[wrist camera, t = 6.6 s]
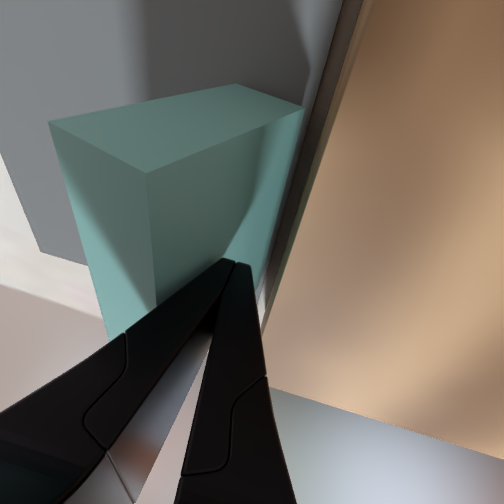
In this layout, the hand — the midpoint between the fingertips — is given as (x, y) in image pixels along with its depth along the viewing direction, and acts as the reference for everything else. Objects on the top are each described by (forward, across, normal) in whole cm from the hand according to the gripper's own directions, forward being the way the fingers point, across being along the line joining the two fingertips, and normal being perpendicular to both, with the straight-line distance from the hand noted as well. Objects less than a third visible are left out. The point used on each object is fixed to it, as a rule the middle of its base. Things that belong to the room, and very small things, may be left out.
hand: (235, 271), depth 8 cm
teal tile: (+1, +2, 0) cm, 2 cm away
